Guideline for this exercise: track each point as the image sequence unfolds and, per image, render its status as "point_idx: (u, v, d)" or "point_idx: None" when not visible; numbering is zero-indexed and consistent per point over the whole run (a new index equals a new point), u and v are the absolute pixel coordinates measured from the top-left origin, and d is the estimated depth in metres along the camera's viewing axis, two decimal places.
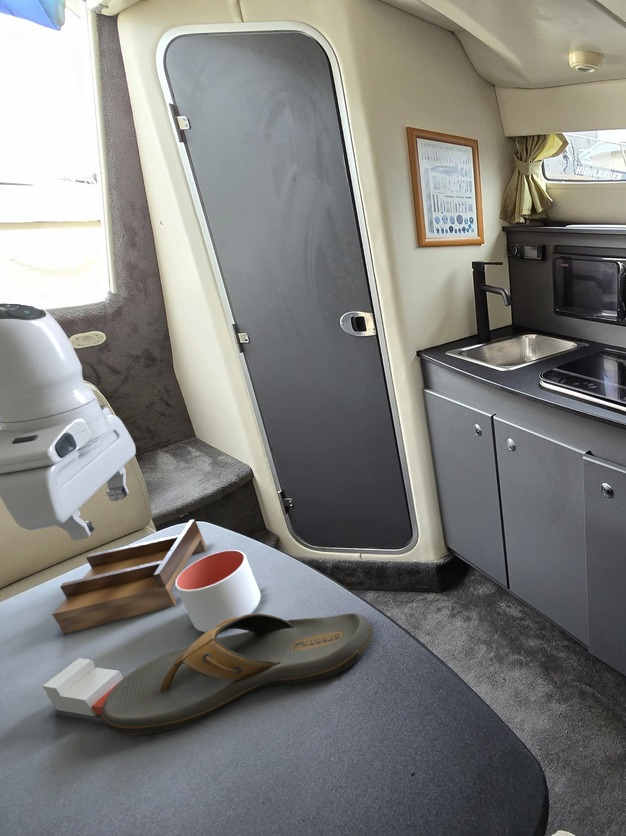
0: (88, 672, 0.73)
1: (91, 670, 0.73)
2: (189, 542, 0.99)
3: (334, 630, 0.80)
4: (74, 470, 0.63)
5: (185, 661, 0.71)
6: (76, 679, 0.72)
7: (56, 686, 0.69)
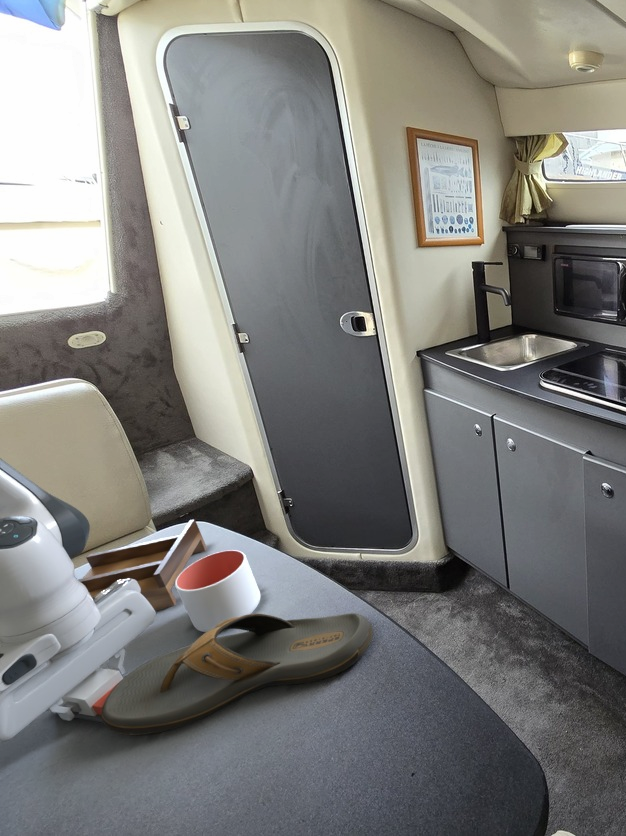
0: None
1: None
2: (189, 542, 0.99)
3: (334, 630, 0.80)
4: (47, 674, 0.66)
5: (185, 661, 0.71)
6: None
7: None
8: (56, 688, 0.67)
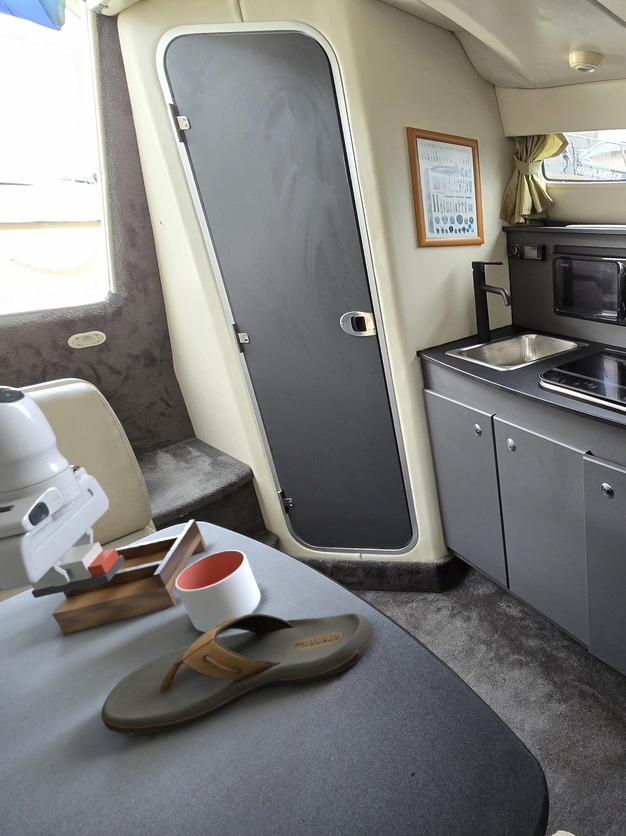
0: None
1: None
2: (189, 542, 0.99)
3: (334, 630, 0.80)
4: (48, 532, 0.71)
5: (185, 661, 0.71)
6: None
7: None
8: (57, 546, 0.71)
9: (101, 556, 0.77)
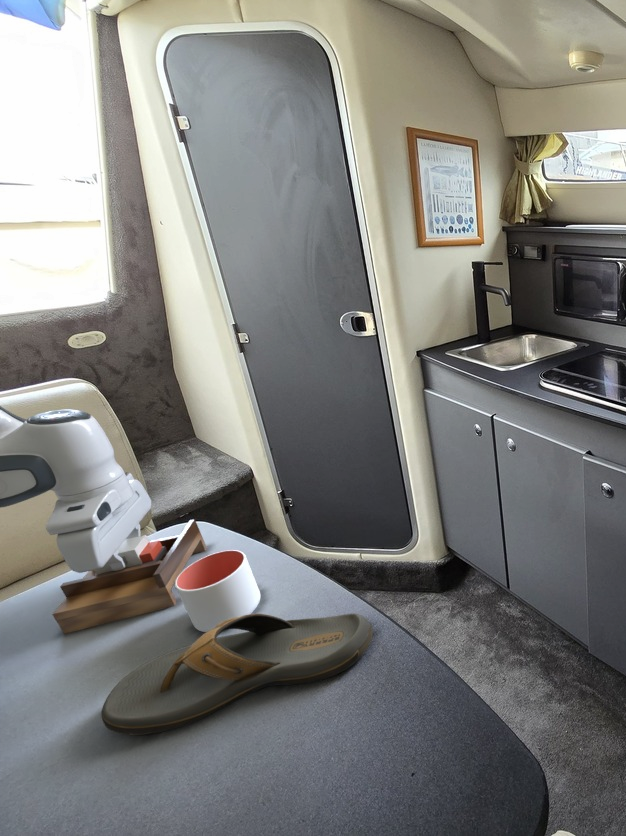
0: None
1: None
2: (189, 542, 0.99)
3: (334, 630, 0.80)
4: (109, 526, 0.87)
5: (185, 661, 0.71)
6: None
7: None
8: (116, 537, 0.88)
9: (149, 546, 0.94)
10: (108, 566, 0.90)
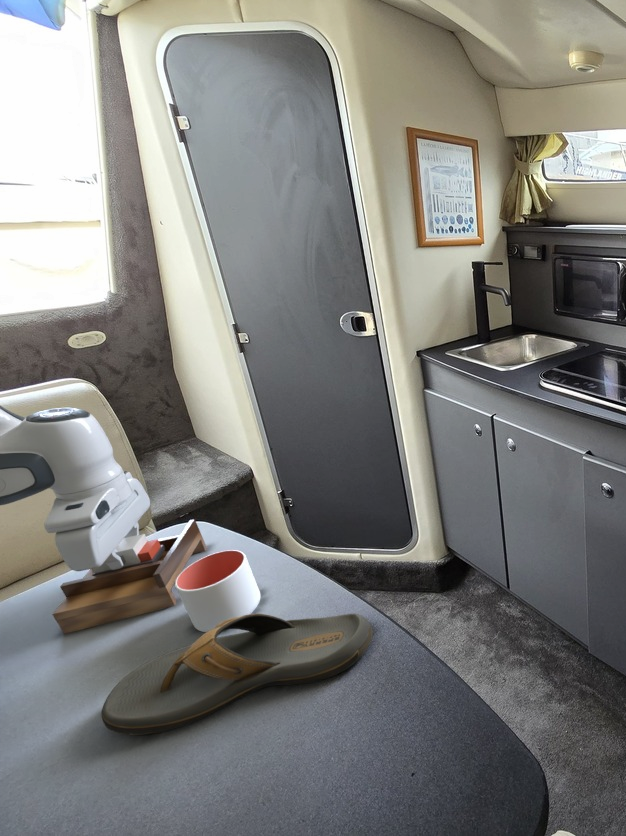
0: None
1: None
2: (189, 542, 0.99)
3: (334, 630, 0.80)
4: (107, 525, 0.87)
5: (185, 661, 0.71)
6: None
7: None
8: (114, 536, 0.87)
9: (147, 545, 0.93)
10: (106, 565, 0.90)
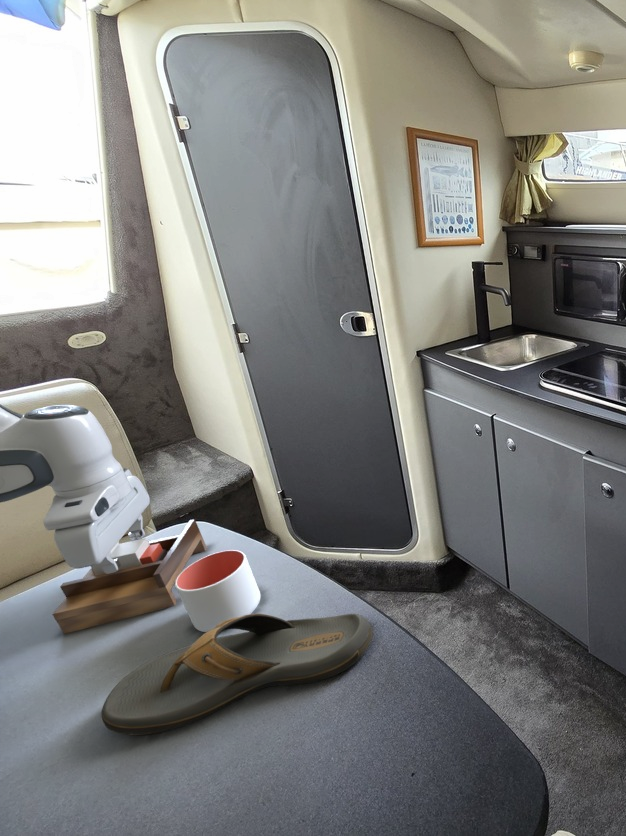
0: (116, 546, 0.92)
1: (117, 545, 0.93)
2: (189, 542, 0.99)
3: (334, 631, 0.80)
4: (107, 522, 0.86)
5: (185, 661, 0.71)
6: (112, 549, 0.91)
7: None
8: (114, 533, 0.87)
9: (149, 549, 0.94)
10: None
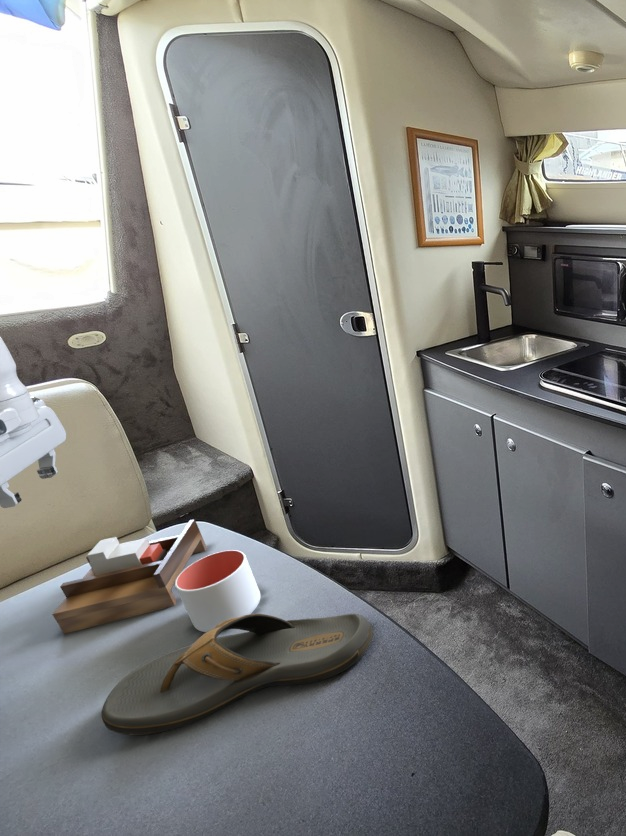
0: (116, 546, 0.92)
1: (117, 545, 0.93)
2: (189, 542, 0.99)
3: (334, 631, 0.80)
4: (5, 449, 0.77)
5: (185, 661, 0.71)
6: (112, 549, 0.91)
7: (102, 551, 0.89)
8: (14, 463, 0.78)
9: (149, 549, 0.94)
10: (108, 569, 0.90)
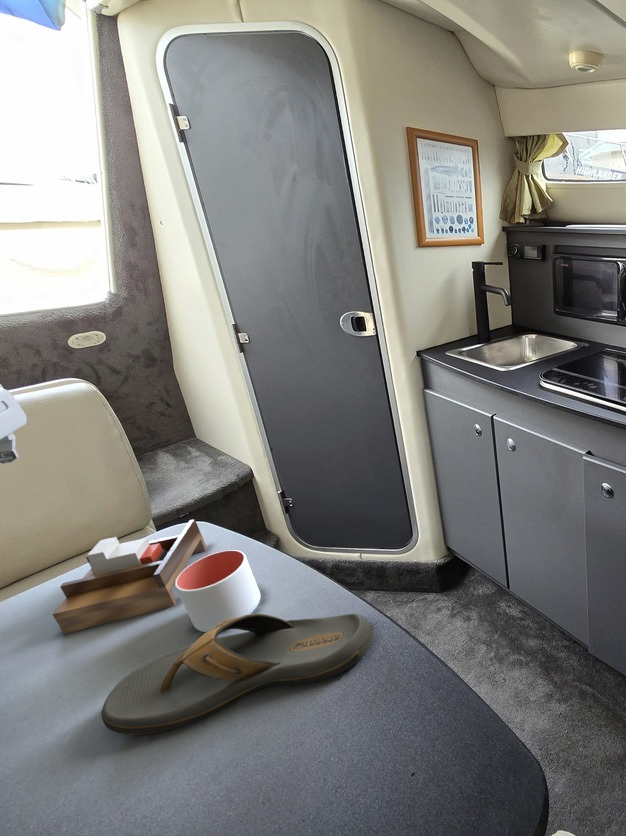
0: (116, 546, 0.92)
1: (117, 545, 0.93)
2: (189, 542, 0.99)
3: (334, 631, 0.80)
4: None
5: (185, 661, 0.71)
6: (112, 549, 0.91)
7: (102, 551, 0.89)
8: None
9: (149, 549, 0.94)
10: (108, 569, 0.90)
